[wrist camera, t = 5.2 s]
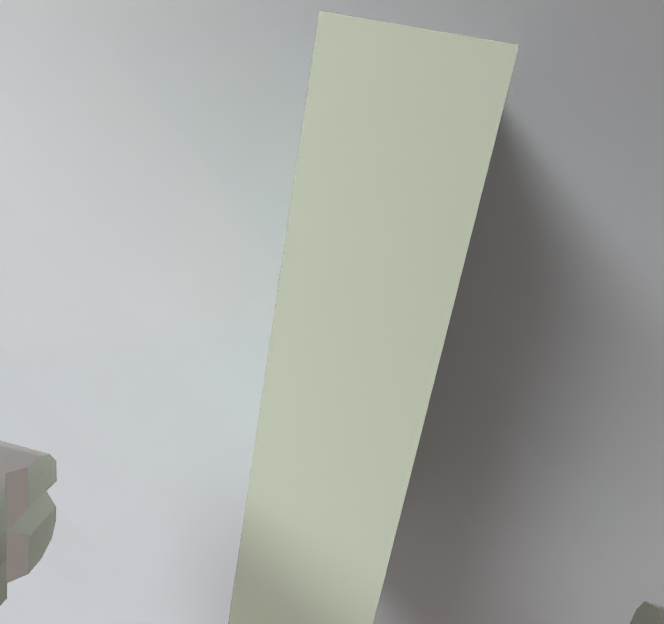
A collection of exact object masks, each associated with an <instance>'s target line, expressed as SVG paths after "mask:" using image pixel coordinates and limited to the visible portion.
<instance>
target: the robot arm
mask: <svg viewBox="0 0 664 624" xmlns="http://www.w3.org/2000/svg"><path fill="white" fill-rule="evenodd" d="M56 481H57V477H56V460H55V459H54V458H53V457H52V456H51V455H50V454H47V453H43V452H40V451H36V450H32V449H29V448H25V447H21V446H18V445H14V444H10V443H7V442H3V441H0V605H1V604H2V603H3V602H4V601H5V600H6V599H7V583H8V582H11V581H13V580H15V579H18V578H20V577H22V576H25V575H27V574H29V572H30V571H31V570H32V569H33V568H34V566H35V565H36V564H37V563H38V562H39V561H40V559H41V558H42V556H43V554H44V552H45V550H46V548H47V546H48V544H49V542H50V540H51V538H52V534H53V530H54V526H55V522H56V506H55V504H54V503H53V501H52V500H51V498H50V496H49V495H48V493H47V492H46V491H47V490H48V489H49V488H50V487H51V486H52V485H53V484H54V483H55V482H56ZM630 624H664V606H661V605H657V604H653V603H649V602H644V603H643V604H642V605H641V606H640V607H639V608H638V609H637V610H636V612H635V614H634V616H633V619H632V621H631V623H630Z"/></svg>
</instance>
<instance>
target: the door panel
mask: <svg viewBox="0 0 664 624" xmlns="http://www.w3.org/2000/svg"><path fill="white" fill-rule="evenodd" d="M518 48H519V45H518V44H512V43H506V42H501V41H495V40H489V39H483V38H477V37H471V36H466V35H460V34H454V33H448V32H442V31H436V30H431V29H425V28H419V27H413V26H407V25H401V24H396V23H390V22H384V21H378V20H372V19H366V18H361V17H355V16H349V15H343V14H337V13H331V12H326V11H320V10H319V15H318V21H317V28H316V35H315V42H314V48H313V55H312V62H311V69H310V75H309V82H308V89H307V96H306V102H305V109H304V116H303V123H302V129H301V136H300V143H299V150H298V156H297V163H296V170H295V177H294V183H293V190H292V197H291V204H290V210H289V217H288V224H287V231H286V237H285V244H284V251H283V258H282V264H281V271H280V278H279V285H278V291H277V298H276V305H275V312H274V318H273V325H272V332H271V338H270V345H269V352H268V359H267V365H266V372H265V379H264V386H263V392H262V399H261V406H260V413H259V419H258V426H257V433H256V440H255V446H254V453H253V460H252V467H251V473H250V480H249V487H248V494H247V500H246V507H245V514H244V521H243V527H242V534H241V541H240V548H239V554H238V561H237V568H236V575H235V581H234V588H233V595H232V602H231V608H230V615H229V622H228V624H373V622H374V618H375V614H376V610H377V606H378V602H379V598H380V594H381V590H382V586H383V582H384V579H385V575H386V571H387V567H388V563H389V559H390V555H391V551H392V547H393V543H394V539H395V535H396V531H397V527H398V523H399V519H400V515H401V511H402V507H403V503H404V499H405V495H406V492H407V488H408V484H409V480H410V476H411V472H412V468H413V464H414V460H415V456H416V452H417V448H418V444H419V440H420V436H421V432H422V428H423V424H424V420H425V416H426V412H427V408H428V404H429V401H430V397H431V393H432V389H433V385H434V381H435V377H436V373H437V369H438V365H439V361H440V357H441V353H442V349H443V345H444V341H445V337H446V333H447V329H448V325H449V321H450V317H451V313H452V310H453V306H454V302H455V298H456V294H457V290H458V286H459V282H460V278H461V274H462V270H463V266H464V262H465V258H466V254H467V250H468V246H469V242H470V238H471V234H472V230H473V226H474V223H475V219H476V215H477V211H478V207H479V203H480V199H481V195H482V191H483V187H484V183H485V179H486V175H487V171H488V167H489V163H490V159H491V155H492V151H493V147H494V143H495V139H496V135H497V132H498V128H499V124H500V120H501V116H502V112H503V108H504V104H505V100H506V96H507V92H508V88H509V84H510V80H511V76H512V72H513V68H514V64H515V60H516V56H517V52H518Z"/></svg>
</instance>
